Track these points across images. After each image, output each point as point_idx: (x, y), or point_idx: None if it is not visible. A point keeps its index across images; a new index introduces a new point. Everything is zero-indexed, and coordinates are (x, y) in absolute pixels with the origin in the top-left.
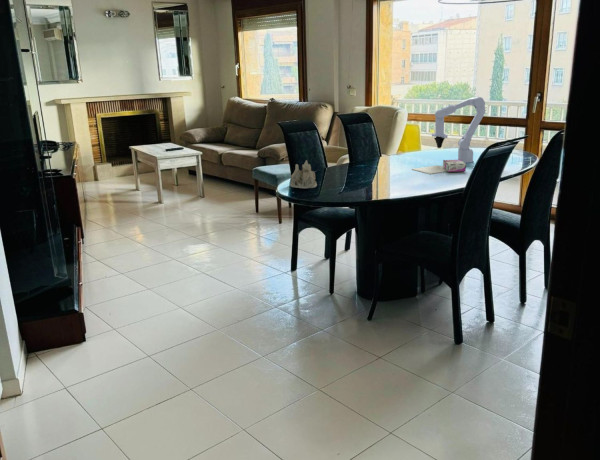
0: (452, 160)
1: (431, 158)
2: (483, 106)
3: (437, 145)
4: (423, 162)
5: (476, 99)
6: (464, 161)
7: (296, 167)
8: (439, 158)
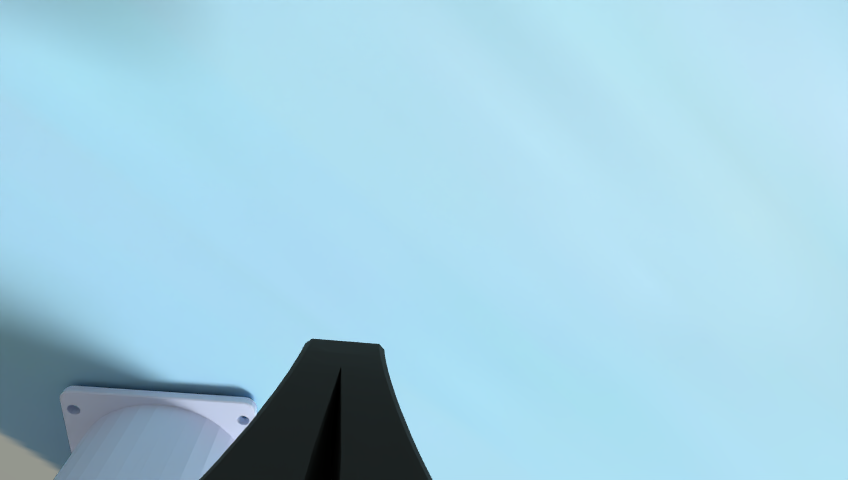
0: None
1: (774, 390)
2: None
3: (355, 395)
4: (671, 50)
5: None
6: (80, 442)
7: None
8: (666, 449)
